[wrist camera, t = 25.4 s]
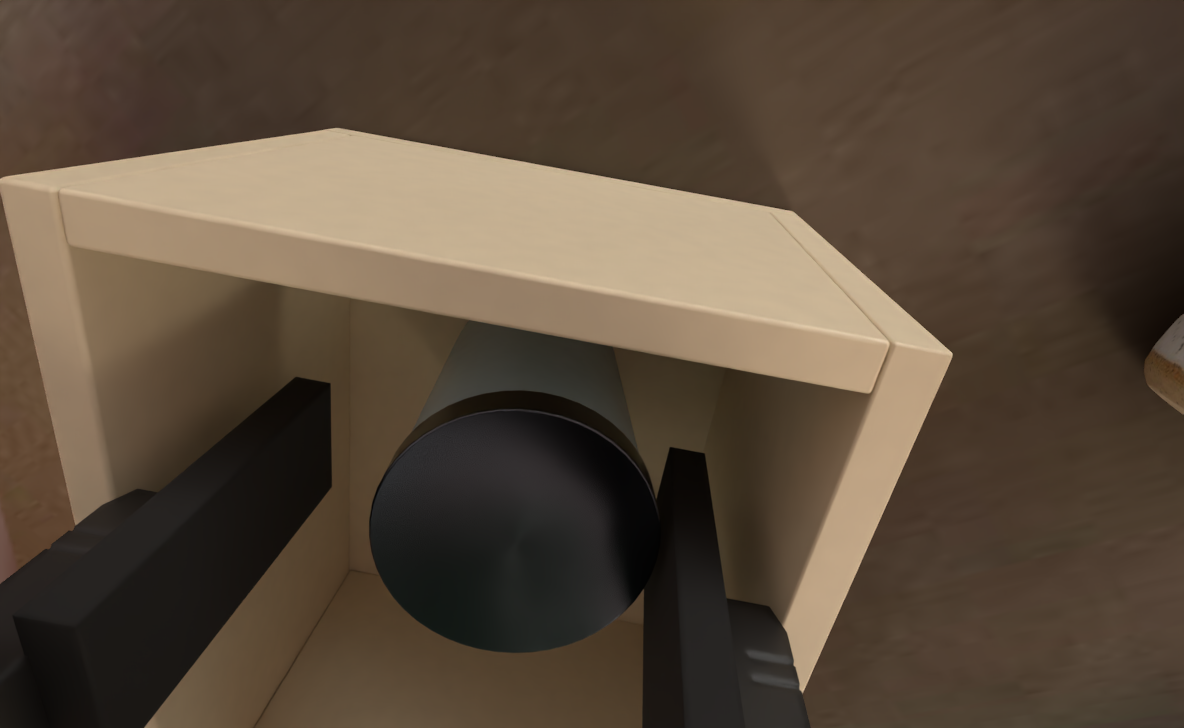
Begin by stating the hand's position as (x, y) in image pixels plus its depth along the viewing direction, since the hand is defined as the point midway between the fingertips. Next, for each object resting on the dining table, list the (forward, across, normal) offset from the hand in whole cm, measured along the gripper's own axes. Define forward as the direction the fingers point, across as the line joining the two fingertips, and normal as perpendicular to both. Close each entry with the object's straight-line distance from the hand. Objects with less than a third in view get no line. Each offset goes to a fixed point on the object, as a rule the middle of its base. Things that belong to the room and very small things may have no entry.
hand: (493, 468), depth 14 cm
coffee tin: (+5, 0, 0) cm, 5 cm away
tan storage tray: (+6, 0, -2) cm, 6 cm away
